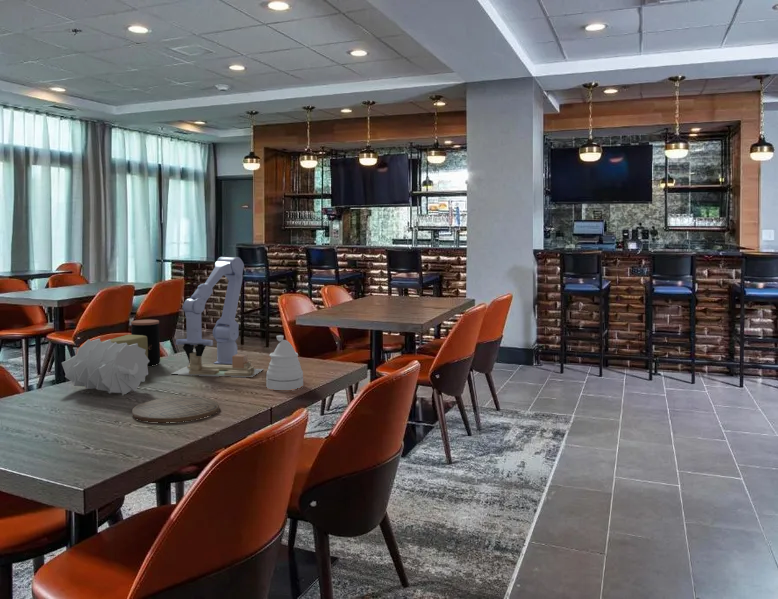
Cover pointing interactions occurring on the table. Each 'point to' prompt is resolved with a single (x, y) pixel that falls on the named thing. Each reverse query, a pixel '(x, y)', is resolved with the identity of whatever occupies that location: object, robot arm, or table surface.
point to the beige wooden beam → (220, 367)
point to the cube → (239, 360)
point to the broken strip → (197, 369)
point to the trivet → (175, 409)
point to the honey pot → (284, 368)
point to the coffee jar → (149, 337)
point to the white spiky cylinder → (107, 366)
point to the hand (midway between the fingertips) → (194, 363)
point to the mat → (221, 373)
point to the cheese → (133, 341)
